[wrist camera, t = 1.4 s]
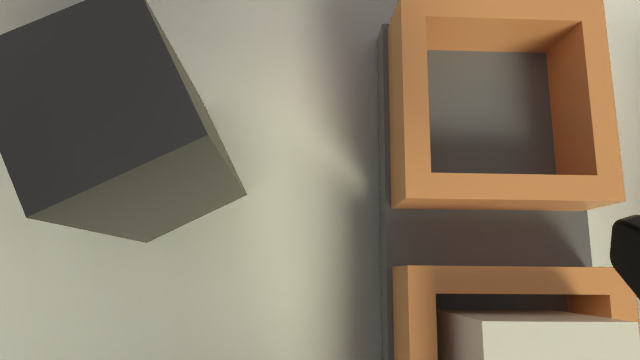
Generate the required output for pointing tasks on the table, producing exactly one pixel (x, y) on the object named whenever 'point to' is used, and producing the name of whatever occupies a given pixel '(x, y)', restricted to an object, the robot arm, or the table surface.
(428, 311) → the orange and grey housing
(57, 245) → the table surface
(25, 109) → the dark grey block
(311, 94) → the table surface
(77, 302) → the table surface
